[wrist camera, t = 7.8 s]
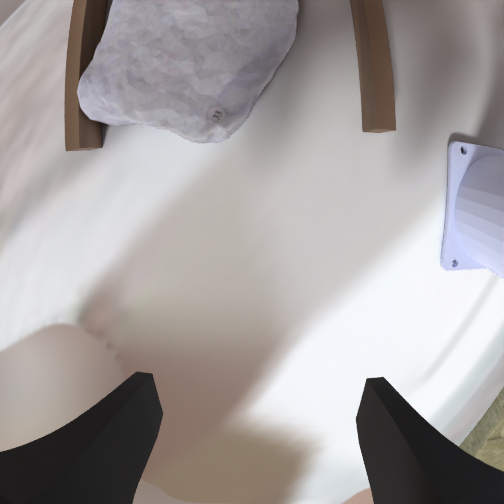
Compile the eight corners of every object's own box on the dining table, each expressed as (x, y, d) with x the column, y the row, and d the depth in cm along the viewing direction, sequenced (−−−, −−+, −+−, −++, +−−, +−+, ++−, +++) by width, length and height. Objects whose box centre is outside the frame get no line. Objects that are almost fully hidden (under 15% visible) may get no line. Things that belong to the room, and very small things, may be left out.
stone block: (302, -4, 15) (155, -40, 12) (326, -34, 10) (142, -75, 8) (243, 157, 19) (92, 119, 16) (253, 168, 14) (58, 121, 12)
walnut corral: (353, -54, 11) (362, -73, 9) (379, 133, 15) (396, 130, 13) (99, -26, 12) (82, -40, 10) (88, 150, 17) (65, 151, 14)
